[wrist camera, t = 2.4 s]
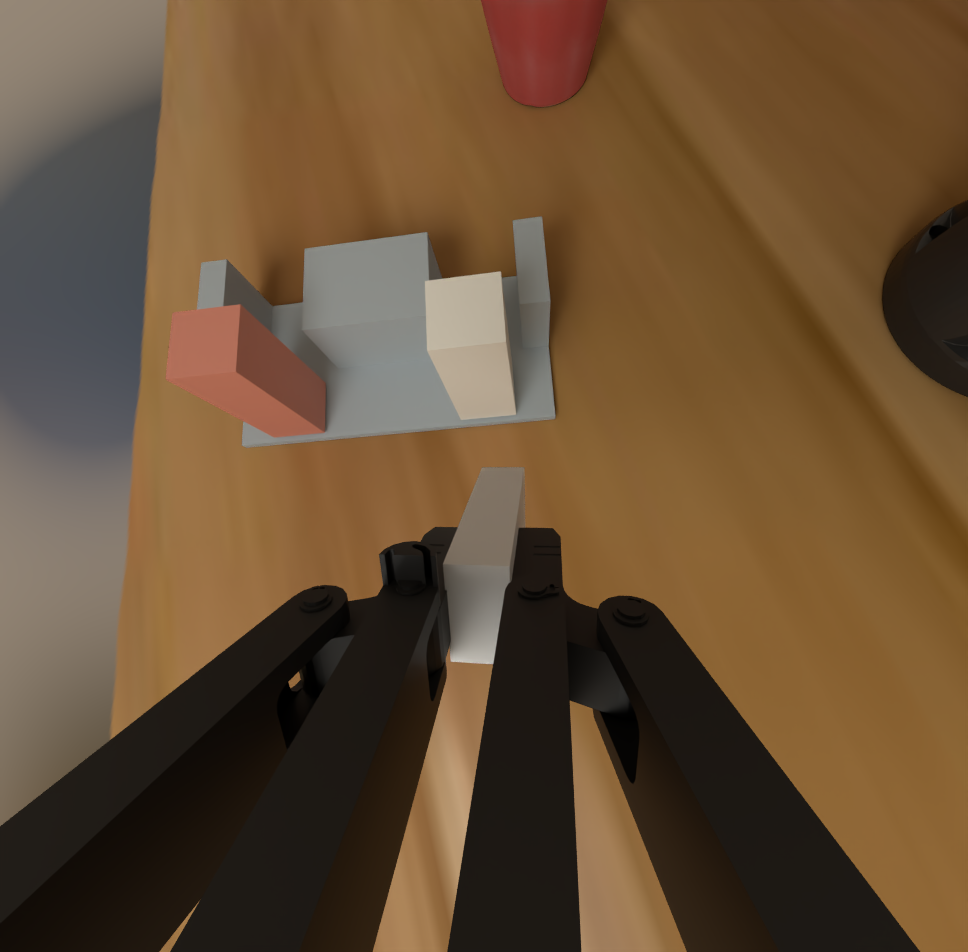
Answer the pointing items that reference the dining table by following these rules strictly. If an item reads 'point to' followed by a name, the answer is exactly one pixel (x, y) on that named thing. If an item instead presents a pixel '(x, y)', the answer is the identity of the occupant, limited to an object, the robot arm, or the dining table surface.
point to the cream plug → (471, 343)
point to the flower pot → (543, 46)
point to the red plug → (245, 371)
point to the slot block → (391, 334)
